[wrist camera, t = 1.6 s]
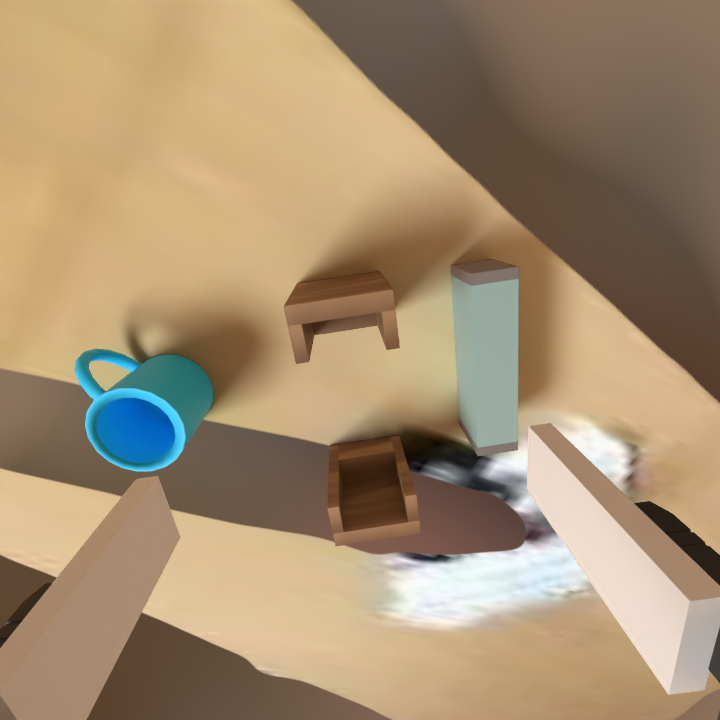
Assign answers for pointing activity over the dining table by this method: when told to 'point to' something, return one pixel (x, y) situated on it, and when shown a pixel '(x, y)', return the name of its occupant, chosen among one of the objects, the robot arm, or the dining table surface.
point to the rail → (487, 353)
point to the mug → (145, 408)
